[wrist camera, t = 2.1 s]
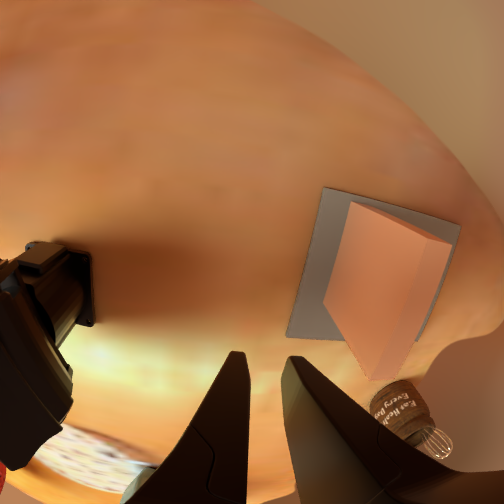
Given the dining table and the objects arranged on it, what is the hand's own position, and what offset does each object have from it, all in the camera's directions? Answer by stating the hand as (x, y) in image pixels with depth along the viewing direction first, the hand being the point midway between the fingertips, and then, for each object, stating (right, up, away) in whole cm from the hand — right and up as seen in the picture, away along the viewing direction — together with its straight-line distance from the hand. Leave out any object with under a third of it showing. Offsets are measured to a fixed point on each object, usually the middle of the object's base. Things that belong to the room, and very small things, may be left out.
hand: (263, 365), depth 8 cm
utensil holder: (+16, -13, +20) cm, 29 cm away
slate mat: (+10, +1, +14) cm, 18 cm away
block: (+7, +3, +13) cm, 15 cm away
